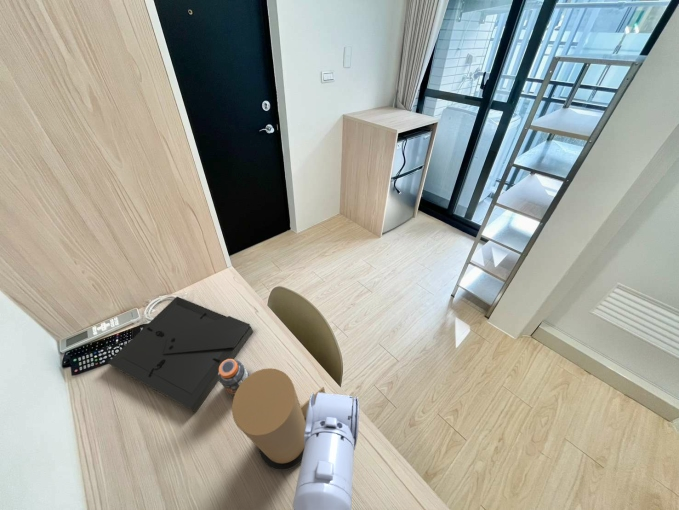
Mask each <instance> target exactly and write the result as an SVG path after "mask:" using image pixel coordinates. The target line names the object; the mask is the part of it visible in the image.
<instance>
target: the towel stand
mask: <svg viewBox="0 0 679 510" xmlns="http://www.w3.org/2000/svg"><path fill="white" fill-rule="evenodd" d="M304 419H305V421H306V418H304ZM258 451H259V454H260V457H261V459H262V460H263V462H264V463H265V464H266V465H267V466H268V467H269V468H271V469H273V470H276V471H282V472H283V471H289V470H291V469H294V468H296V467H297V466H298V465H301V462H302V457H303V452H304V449H303V451H302V452H301V454H300V455H299V456H298V457H297V458H296V459H294V460H293V461H291V462H288V463H276V462H274V461H272V460H271V459H269V458H268V457H267V456H266V455H265V454H264V453H263V452H262V451H261V450H260V449H259V448H258Z"/></svg>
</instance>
